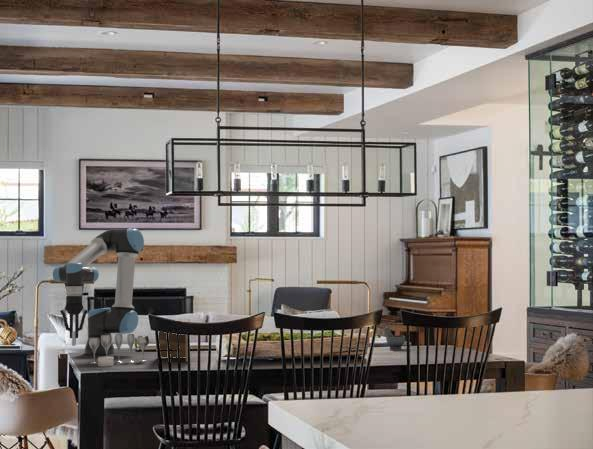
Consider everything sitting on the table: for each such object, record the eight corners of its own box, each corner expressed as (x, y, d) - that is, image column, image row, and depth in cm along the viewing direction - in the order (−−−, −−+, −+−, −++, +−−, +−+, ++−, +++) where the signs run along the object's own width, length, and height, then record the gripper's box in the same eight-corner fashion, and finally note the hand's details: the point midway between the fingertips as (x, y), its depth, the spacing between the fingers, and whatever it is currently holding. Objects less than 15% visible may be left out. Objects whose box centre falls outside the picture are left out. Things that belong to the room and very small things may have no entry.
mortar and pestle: (404, 348, 504) (403, 325, 505) (406, 350, 495) (406, 327, 495) (382, 348, 504) (382, 325, 505) (384, 350, 495) (384, 327, 495)
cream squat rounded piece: (98, 365, 443) (98, 356, 443) (114, 364, 444) (114, 356, 444) (97, 366, 436) (97, 358, 436) (112, 366, 437) (112, 357, 437)
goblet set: (89, 364, 447) (89, 335, 448) (89, 362, 453) (89, 334, 453) (149, 361, 454) (149, 333, 454) (148, 360, 459) (148, 332, 460)
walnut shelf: (156, 358, 465) (156, 319, 465) (189, 358, 466) (189, 319, 467) (154, 363, 445) (154, 322, 446) (188, 363, 446) (188, 322, 447)
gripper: (59, 295, 448) (58, 346, 447) (87, 295, 449) (86, 345, 448) (61, 295, 456) (61, 344, 455) (89, 295, 457) (88, 344, 456)
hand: (73, 345), depth 451 cm, fingers closed
